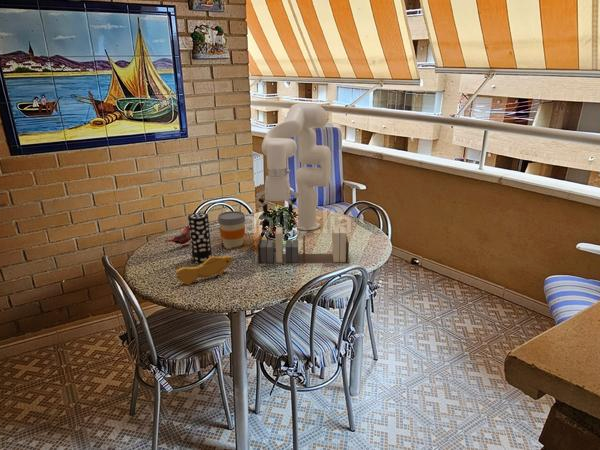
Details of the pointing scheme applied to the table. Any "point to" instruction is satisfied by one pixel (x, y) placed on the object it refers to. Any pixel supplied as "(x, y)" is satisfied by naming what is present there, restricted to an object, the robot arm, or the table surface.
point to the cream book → (279, 244)
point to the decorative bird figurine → (181, 237)
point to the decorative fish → (204, 269)
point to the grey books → (268, 251)
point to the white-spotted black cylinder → (200, 237)
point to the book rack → (306, 256)
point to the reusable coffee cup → (232, 228)
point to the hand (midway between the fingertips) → (278, 213)
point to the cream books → (339, 244)
